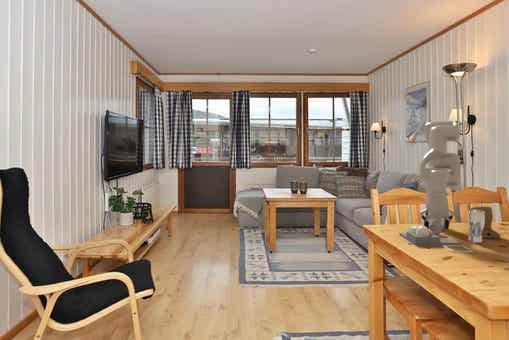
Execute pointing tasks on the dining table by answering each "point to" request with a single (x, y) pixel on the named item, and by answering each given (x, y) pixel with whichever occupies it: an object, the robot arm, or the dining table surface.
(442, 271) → the dining table surface
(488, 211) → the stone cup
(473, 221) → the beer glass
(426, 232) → the dome button
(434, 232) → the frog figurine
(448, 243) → the game board
